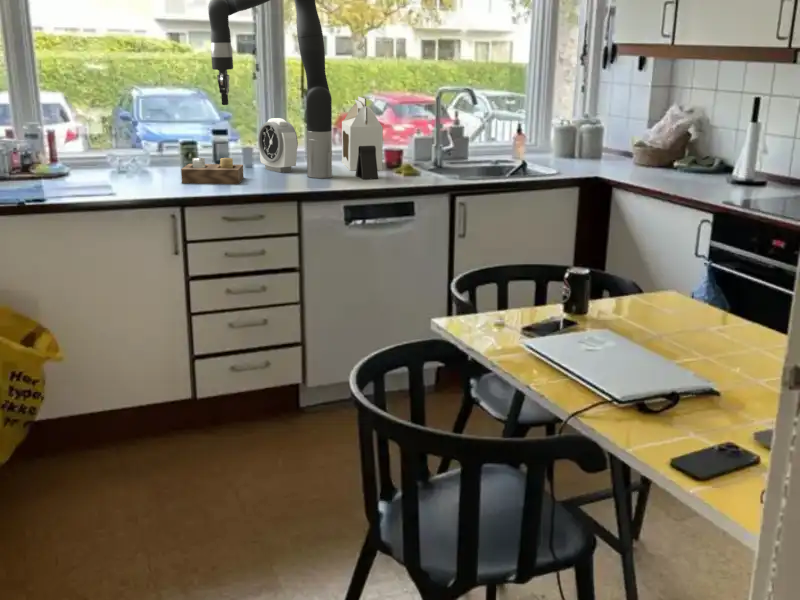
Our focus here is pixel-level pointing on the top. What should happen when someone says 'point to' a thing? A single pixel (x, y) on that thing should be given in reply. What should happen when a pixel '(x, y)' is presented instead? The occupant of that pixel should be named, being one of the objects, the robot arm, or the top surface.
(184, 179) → the block
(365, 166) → the door stopper
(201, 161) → the steel bushing
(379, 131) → the gable box
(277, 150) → the alarm clock
